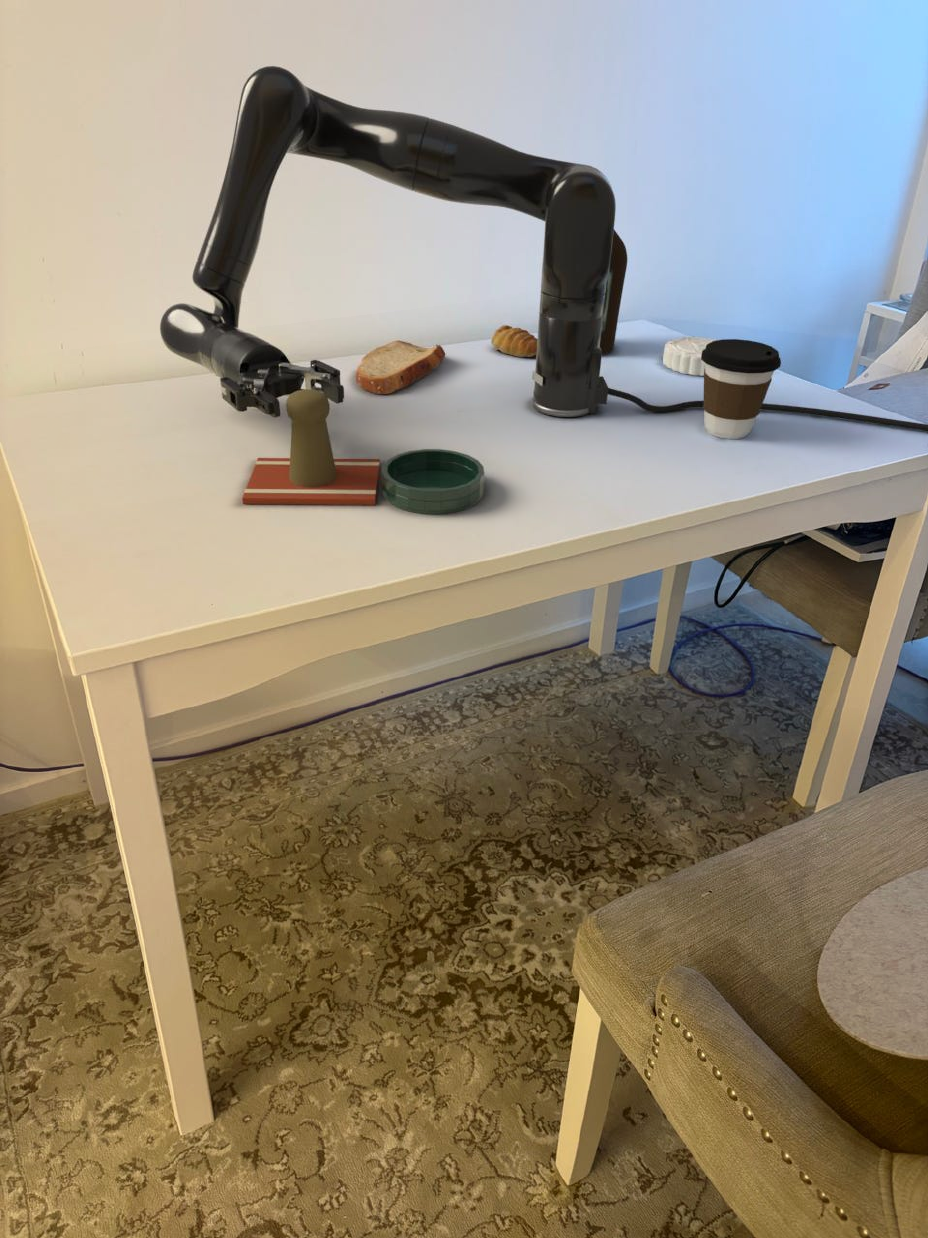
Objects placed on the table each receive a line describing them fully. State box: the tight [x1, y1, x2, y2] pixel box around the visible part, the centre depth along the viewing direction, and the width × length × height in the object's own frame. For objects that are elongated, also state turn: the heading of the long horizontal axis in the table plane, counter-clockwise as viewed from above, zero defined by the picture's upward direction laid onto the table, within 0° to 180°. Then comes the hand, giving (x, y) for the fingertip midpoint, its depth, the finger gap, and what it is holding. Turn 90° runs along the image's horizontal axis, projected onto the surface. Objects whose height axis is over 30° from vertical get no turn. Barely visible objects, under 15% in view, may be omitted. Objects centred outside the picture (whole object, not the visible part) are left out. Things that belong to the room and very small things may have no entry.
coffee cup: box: [701, 338, 782, 440], centre depth 130 cm, size 11×11×12 cm
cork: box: [285, 388, 337, 487], centre depth 112 cm, size 6×6×11 cm
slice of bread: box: [355, 340, 446, 395], centre depth 150 cm, size 18×18×4 cm
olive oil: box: [600, 229, 628, 356], centre depth 158 cm, size 11×11×25 cm
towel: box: [241, 457, 381, 506], centre depth 115 cm, size 16×12×1 cm
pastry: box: [490, 324, 538, 358], centre depth 161 cm, size 9×7×4 cm
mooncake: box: [662, 336, 718, 377], centre depth 157 cm, size 12×12×4 cm
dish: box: [381, 448, 485, 515], centre depth 113 cm, size 13×13×3 cm
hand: (309, 402), depth 109 cm, fingers open, 8 cm apart
